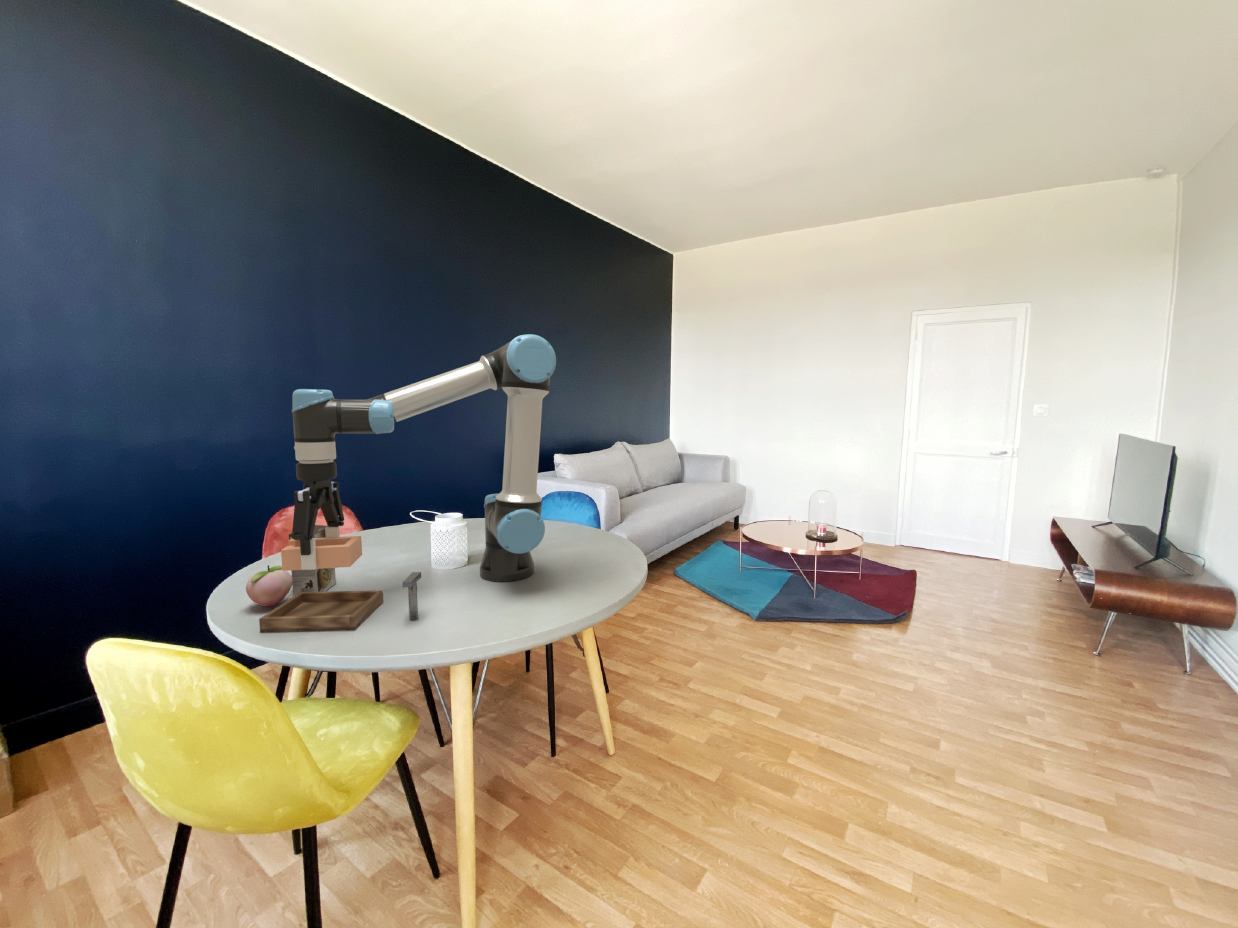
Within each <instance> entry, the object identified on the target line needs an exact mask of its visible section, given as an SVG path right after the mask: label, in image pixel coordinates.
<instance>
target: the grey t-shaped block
mask: <svg viewBox="0 0 1238 928" xmlns="http://www.w3.org/2000/svg"><path fill="white" fill-rule="evenodd" d="M421 578H422V572H421V571H413V572H411V573H410V575H408V576H407V577H406V578H405V579H404V580H403V581H402V588H407V592H408V614H409V615H408V619H409V621H410V622H414V621H418V619H419V604H418V583H417V582H418V581H419V580H420V579H421Z"/></svg>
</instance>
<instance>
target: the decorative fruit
mask: <svg viewBox="0 0 1238 928" xmlns="http://www.w3.org/2000/svg"><path fill="white" fill-rule="evenodd" d="M292 584H293V578H292V574H290V572H289V571H282V565H274V566H271V567H270V565H269V564H268V565H267V569H263V570H259V571H257V572H255V573H254V574H253V575H252V576H250V577H249V579H248V580H247V582H246V585H245V591H246V593H247V596H248V598H249V599H250V600H251V601H252V602H253V603H255V604H256V605H259V606H262V607H263V606H264V607H274V606H276V605H277V604H278V603H280V602H281V601H283V600H284V599H285V598H286V596H287V595H288V594H289V593H290V590H291V589H292V588H293V586H292Z"/></svg>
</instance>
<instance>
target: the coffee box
mask: <svg viewBox="0 0 1238 928" xmlns="http://www.w3.org/2000/svg"><path fill="white" fill-rule="evenodd" d="M326 527H330V526H328V525H323V524H322V525H321V524H319V525H318V524H315V527H314V532H313V537H312V538H326V533H325V528H326ZM290 539H292V532H290V533H289V534H288V541H289V540H290ZM290 571H291V576H292V578H293V584H292V597H294V596H295V595H297V594H298V593H300V592H328V591H329V589H331V588H332V587H333V586H335V585H336V584H337V579H336V568H322V569H315V570H290Z"/></svg>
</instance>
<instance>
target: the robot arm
mask: <svg viewBox="0 0 1238 928" xmlns="http://www.w3.org/2000/svg"><path fill="white" fill-rule="evenodd" d="M556 364H557V357H556V352H555V350H554V348H553V345H551V343H550V342H549V341H548V340H546V339H545V338H544V337H542V336H540V335H538V334H529V333H528V334H527V333H526V334H522V335H518V336H516V337H514V338H513V339H512V340H511V341H509V342H506V343H505V344H504V345H502V346H501V347H499V348H498V349H496V350H494V351H491V352H489V353H487V354H484V355H481V356H480V358H479V361H475V362H473V363H469V364H467V365H464V366H460V367H457V368H455V369H452V370H449V371H447V372H446V371H445V372H443V373H440V374H438V375H435V376H432V377H429V378H426V379H423V380H420V381H417V382H415V383H411V384H408V385H406V386H403V387H400V388H397V389H393V390H390V391H388V392H385V393H382V394H378V395H376V396H373V397H371V398H368V399H342V398H335V397H334V395H333V391H332V390H329V389H316V388H314V389H311V388H309V389H308V388H299V389H295V390H294V391H293V392H292V409H291V414H292V422H293V423H292V426H293V436H294V437H293V438H294V446H293V449H294V451H295V453H294V454H295V455H294V456H295V460H296V461H298V462H297V463H296V464H295V474H296V476H295V477H296V479H297V480H298V481H300V482H303V486H302V490H294V491H293V497H294V507H293V518H292V519H293V521H292V530H291V531H292V532H291V533H292V539H294V540H299V541H300V553H301V569H302V570H315V569H317V563H316V546H315V539H312V537H313V532H314V527H315V525H316V522H317V517H318V512H319V510H321V513H322V515H323V517H324V520H325V522H326V524H327V525H326V526H330V527H326V528H325V533H326V538H328V537H341V536H340V527H344V525H345V522H344V521H345V516H344V512H343V511H344V510H343V505H342V501H341V495H340V482H338V481H331V480H334V479H336V478H337V477H338V468H337V463H336V461H334V460H336V459H337V449H336V434H341V435H342V434H376V435H380V434H391V433H393V432H394V430H395V423H397V422H401V421H403V420H406V419H408V418H411V417H414V416H416V415H420V414H422V413H423V414H424V413H426V412H428V411H431V410H434V409H436V408H439V407H442V406H445V405H447V404H451V403H453V402H455V401H458V400H461V399H462V400H463V399H465V398H467V397H470V396H472V395H476V394H478V393H481V392H483V391H486V390H489V389H491V390H494V391H497V390H500V389H502V391H503V392H504V393H505V394H506V395H507V396H506V397H507V404H506V405H507V406H506V421H505V422H506V424H505V438H504V439H505V442H504V454H503V455H504V456H503V471H502V472H503V473H502V488H501V489H502V490H501V491H500V492H499V493H491V494H487V495H486V496H485V498H484V504H483V508H484V526H485V528H484V531H485V532H484V533H485V548H484V549H485V550H484V553H483V556H482V559H481V562H480V565H479V576H480V577H481V578H482V579H484V580H486V581H491V582H513V581H519V580H523V579H525V578H528V577H530V576H532V575H533V574H534V573H535V563H534V560H533V557H532V554H531V551H533V550H534V549H535V548H537V547H538V546H539V545H540V544H541V543H542V542H543V540H544V536H545V533H546V526H545V522H544V518H543V517H542V504H543V498H542V497H541V496H540V494H539V493H537V490H538V488H537V487H538V473H539V462H540V461H539V460H540V459H539V458H540V443H541V429H542V427H541V425H542V413H543V399H544V398H545V397H546V396H548V394H549V393H550V384H551V383H550V381H551V376H553V374H554V372H555V369H556V366H557V365H556Z"/></svg>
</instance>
